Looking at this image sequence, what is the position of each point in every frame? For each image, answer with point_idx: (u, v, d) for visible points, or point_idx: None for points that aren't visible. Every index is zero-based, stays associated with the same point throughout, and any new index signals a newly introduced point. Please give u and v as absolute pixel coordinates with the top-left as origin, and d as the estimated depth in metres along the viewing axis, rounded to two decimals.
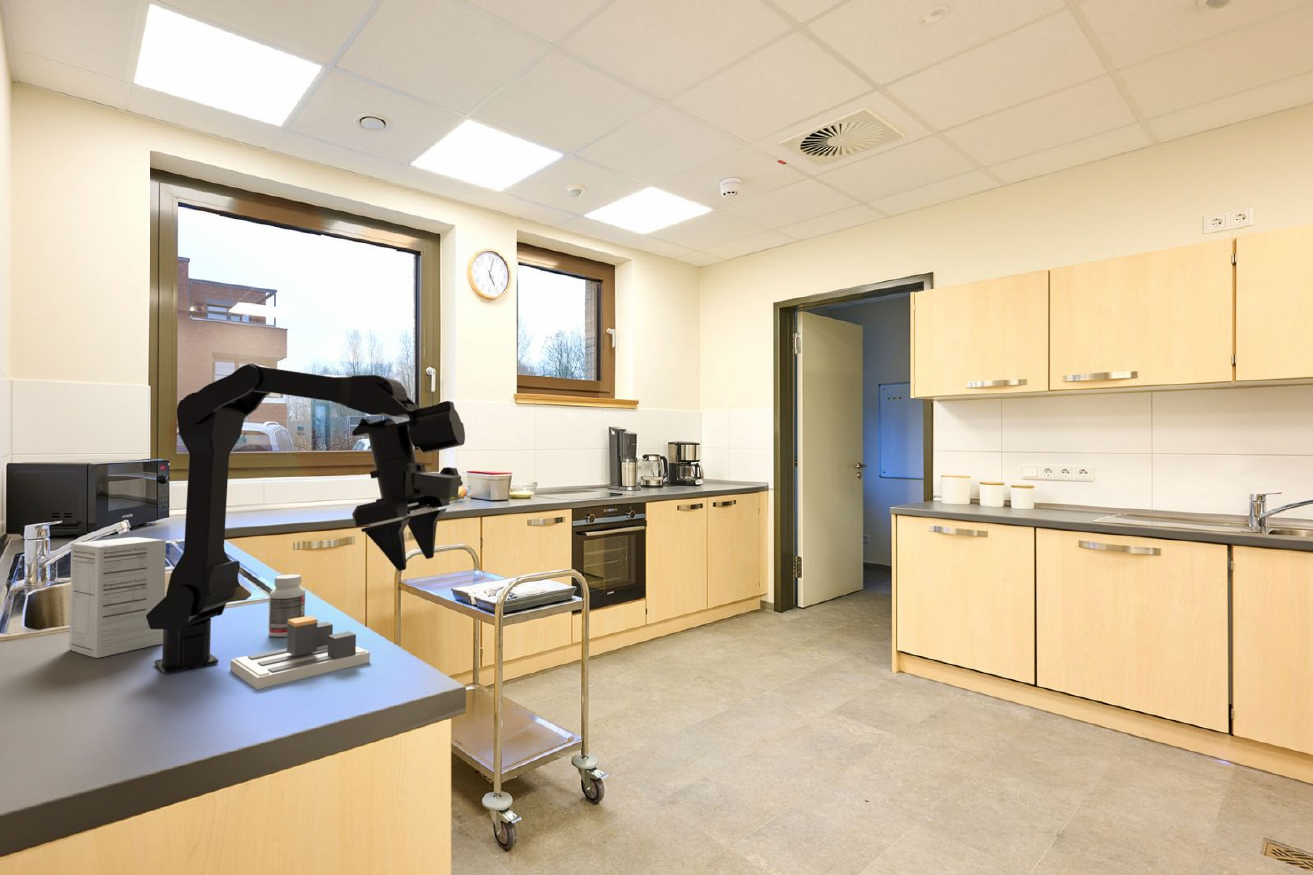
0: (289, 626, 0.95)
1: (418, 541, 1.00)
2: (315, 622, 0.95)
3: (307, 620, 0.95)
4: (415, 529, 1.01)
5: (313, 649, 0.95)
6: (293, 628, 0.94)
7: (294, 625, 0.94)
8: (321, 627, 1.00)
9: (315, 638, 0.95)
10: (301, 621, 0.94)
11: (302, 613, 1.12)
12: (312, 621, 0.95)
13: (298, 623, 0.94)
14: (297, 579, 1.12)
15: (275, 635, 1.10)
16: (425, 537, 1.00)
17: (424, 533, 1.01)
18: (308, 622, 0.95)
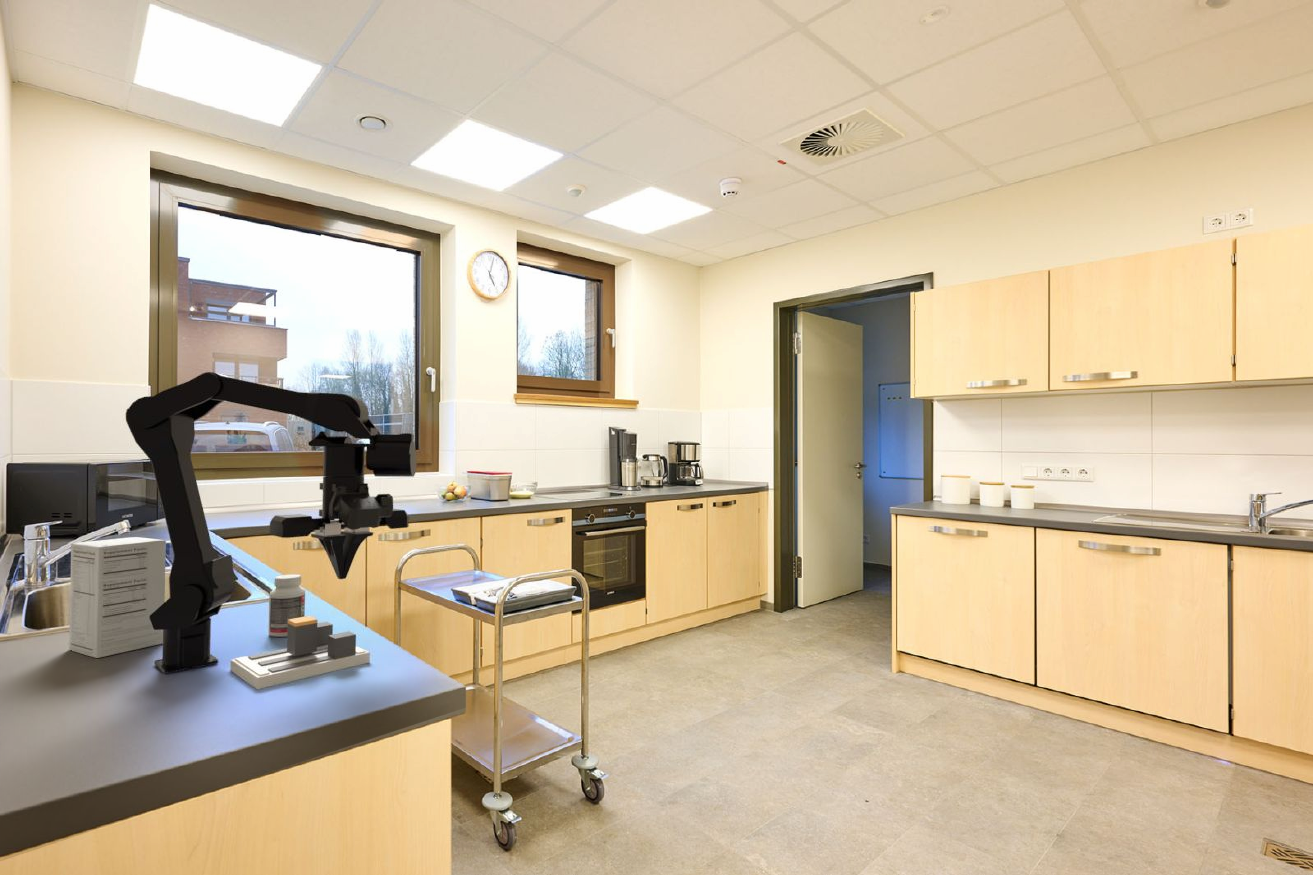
0: (289, 626, 0.95)
1: None
2: (315, 622, 0.95)
3: (307, 620, 0.95)
4: None
5: (313, 649, 0.95)
6: (293, 628, 0.94)
7: (294, 625, 0.94)
8: (321, 627, 1.00)
9: (315, 638, 0.95)
10: (301, 621, 0.94)
11: (302, 613, 1.12)
12: (312, 621, 0.95)
13: (298, 623, 0.94)
14: (297, 579, 1.12)
15: (275, 635, 1.10)
16: (343, 556, 1.00)
17: (344, 552, 1.00)
18: (308, 622, 0.95)
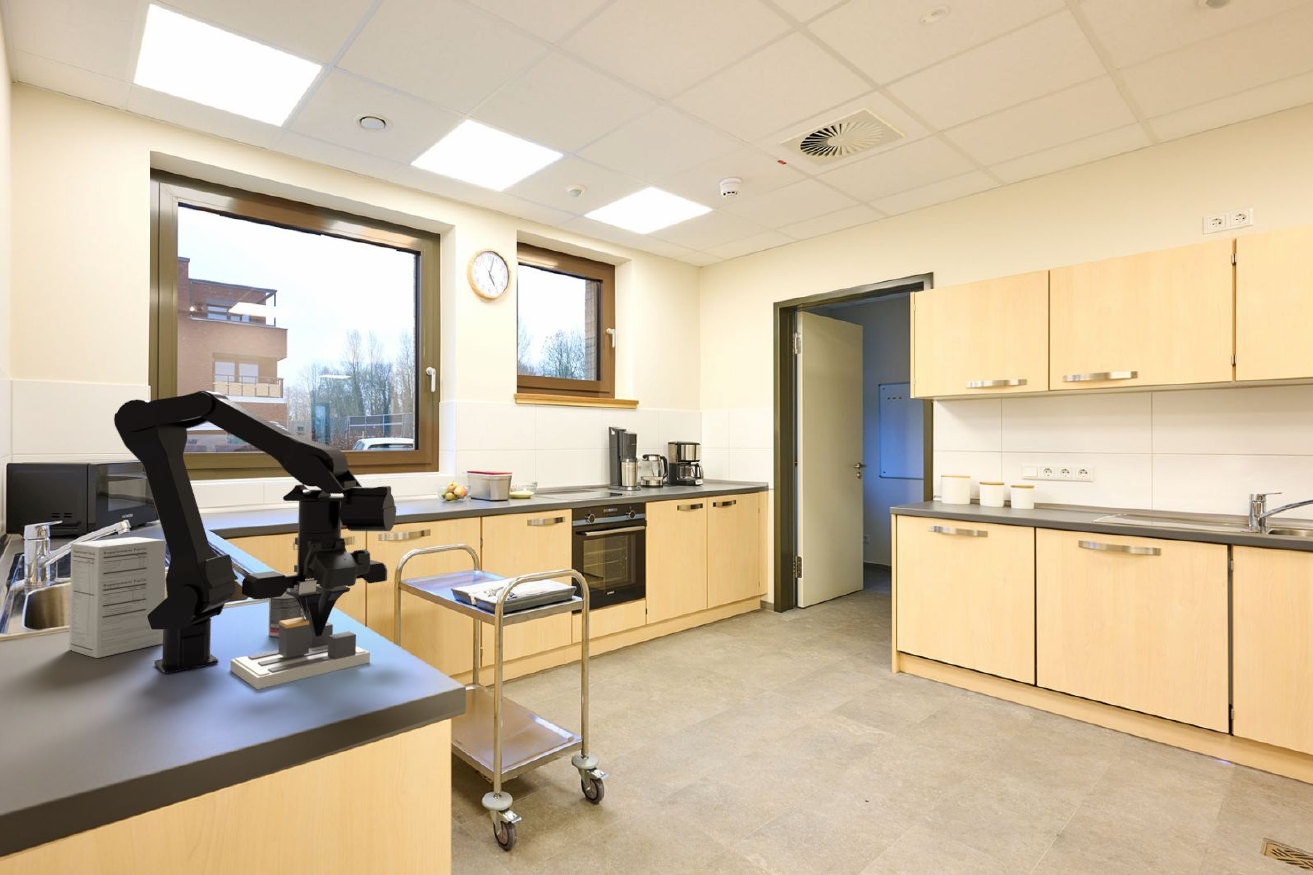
0: (280, 628, 0.94)
1: None
2: (307, 623, 0.94)
3: (299, 621, 0.94)
4: None
5: (305, 651, 0.94)
6: (285, 629, 0.93)
7: (285, 627, 0.93)
8: None
9: (307, 640, 0.94)
10: (293, 622, 0.93)
11: (302, 613, 1.12)
12: (304, 622, 0.94)
13: (289, 625, 0.93)
14: None
15: (275, 635, 1.10)
16: (319, 613, 0.97)
17: (319, 609, 0.97)
18: (300, 623, 0.94)
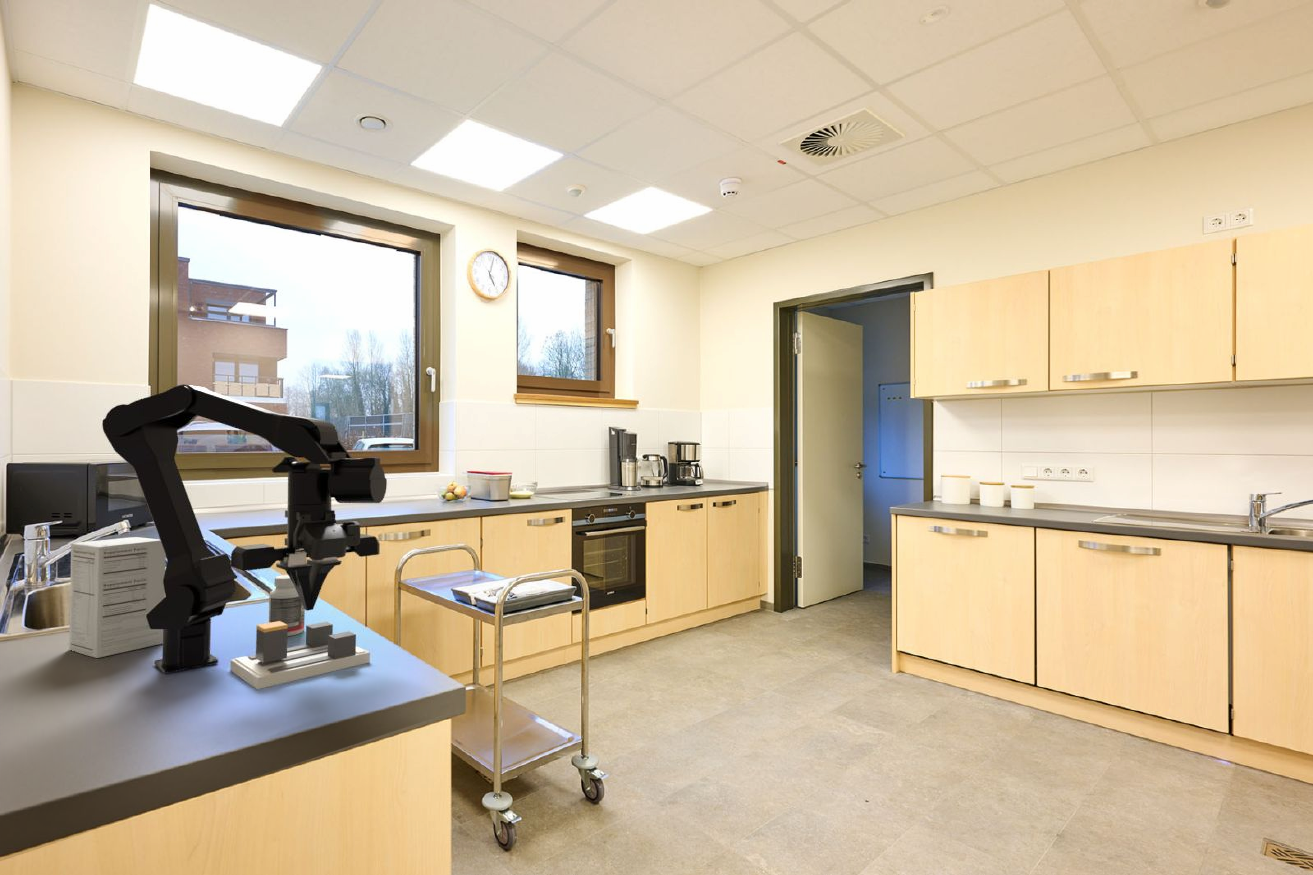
0: (258, 632, 0.92)
1: None
2: (285, 627, 0.92)
3: (277, 625, 0.92)
4: (309, 575, 0.97)
5: (283, 655, 0.92)
6: (262, 634, 0.91)
7: (263, 631, 0.90)
8: (321, 627, 1.00)
9: (285, 644, 0.92)
10: (270, 626, 0.91)
11: (302, 613, 1.12)
12: (282, 626, 0.92)
13: (267, 629, 0.91)
14: None
15: None
16: (310, 587, 0.96)
17: (311, 582, 0.96)
18: (277, 627, 0.92)
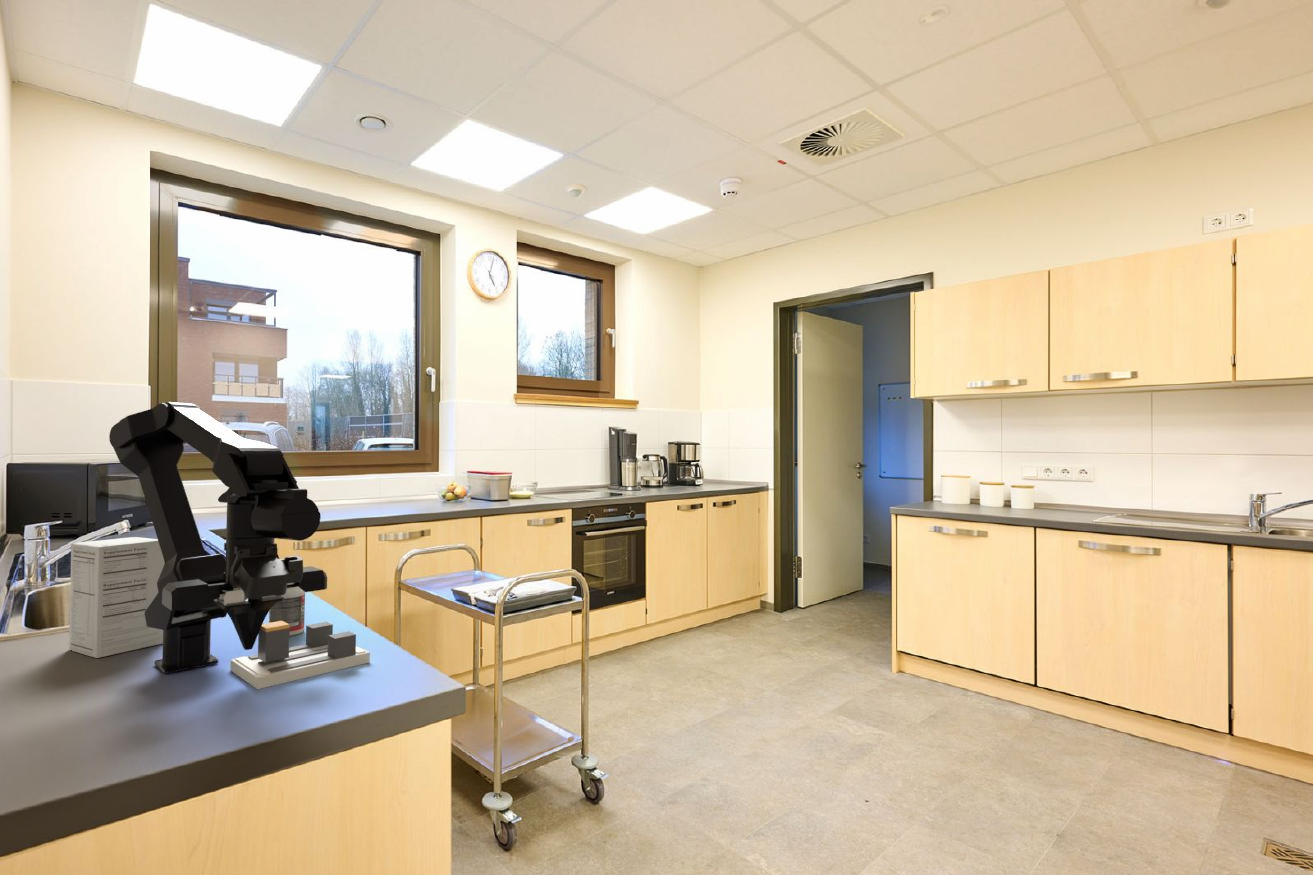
0: (260, 631, 0.92)
1: None
2: (287, 627, 0.92)
3: (279, 625, 0.92)
4: (250, 612, 0.92)
5: (285, 655, 0.92)
6: (264, 633, 0.91)
7: (265, 630, 0.91)
8: (321, 627, 1.00)
9: (287, 644, 0.92)
10: (272, 626, 0.91)
11: (302, 613, 1.12)
12: (284, 626, 0.92)
13: (269, 628, 0.91)
14: None
15: None
16: (250, 624, 0.90)
17: (250, 620, 0.90)
18: (279, 627, 0.92)
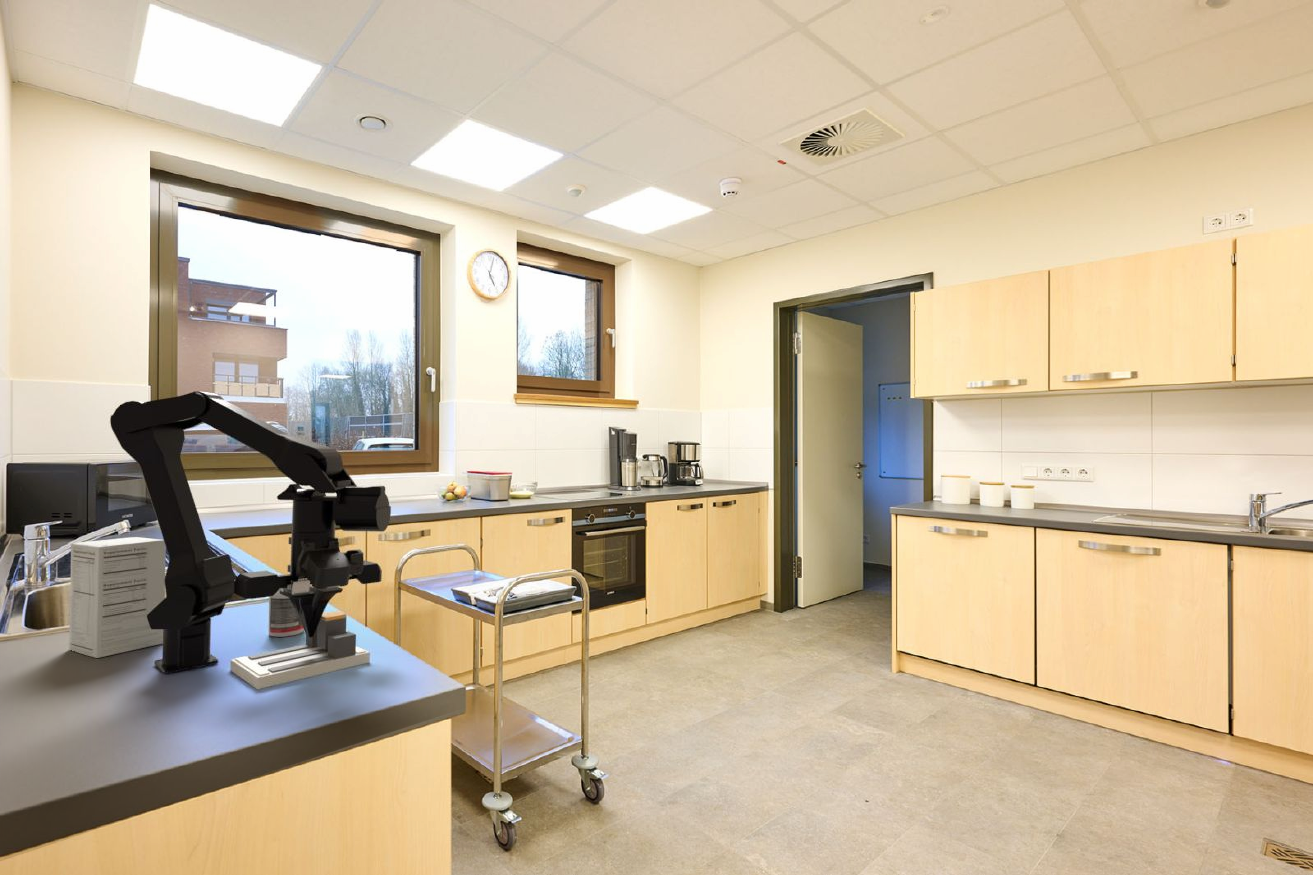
0: None
1: None
2: (344, 617, 0.98)
3: (336, 615, 0.98)
4: None
5: None
6: (323, 622, 0.97)
7: (324, 620, 0.97)
8: None
9: None
10: (331, 616, 0.97)
11: None
12: (341, 616, 0.98)
13: (328, 618, 0.97)
14: None
15: (275, 635, 1.10)
16: None
17: (312, 609, 0.96)
18: (337, 617, 0.98)
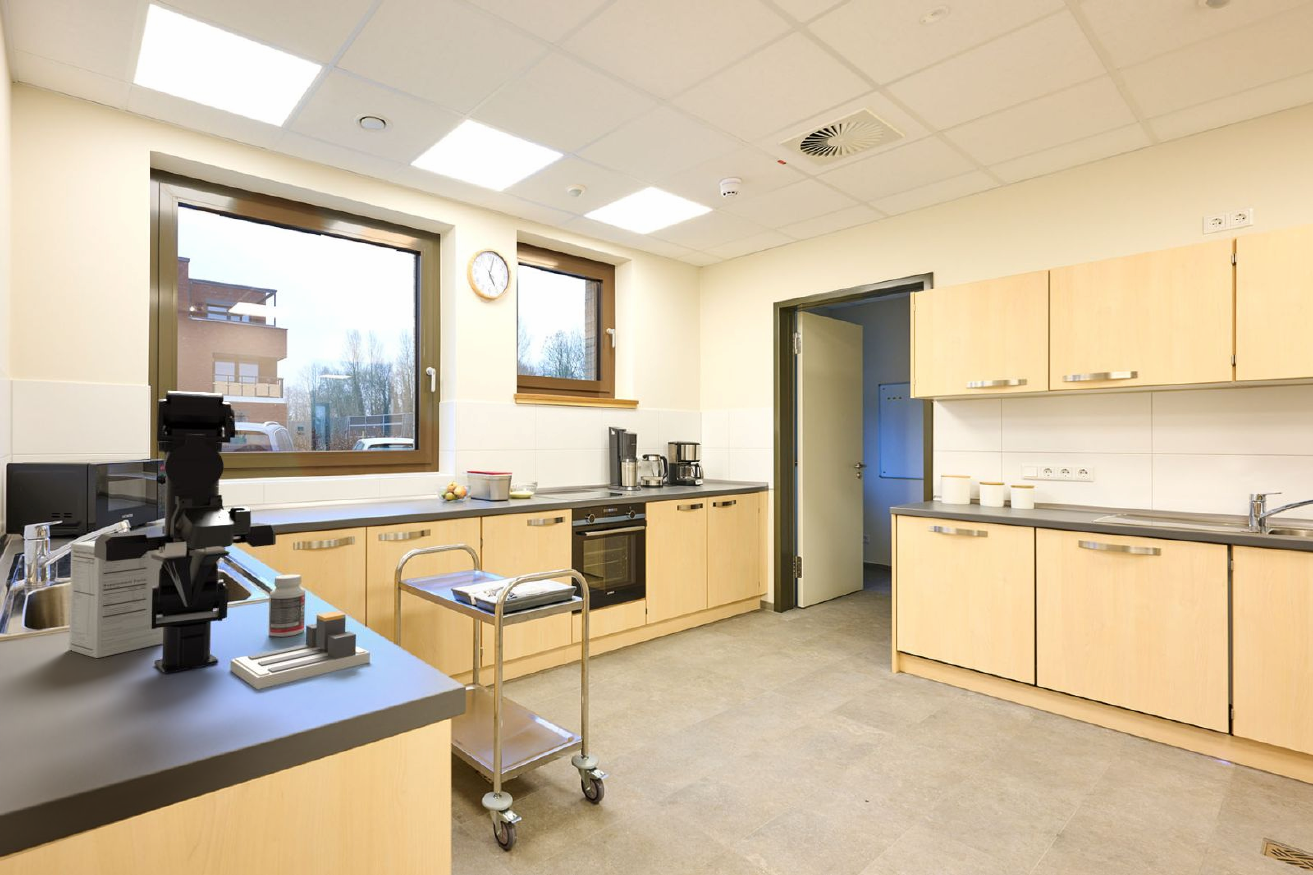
0: (318, 621, 0.98)
1: None
2: (343, 617, 0.98)
3: (336, 615, 0.98)
4: (191, 568, 0.87)
5: None
6: (323, 623, 0.97)
7: (323, 620, 0.97)
8: None
9: None
10: (330, 616, 0.97)
11: (302, 613, 1.12)
12: (340, 616, 0.98)
13: (327, 618, 0.97)
14: (297, 579, 1.12)
15: (275, 635, 1.10)
16: (192, 580, 0.86)
17: (193, 575, 0.86)
18: (337, 617, 0.98)
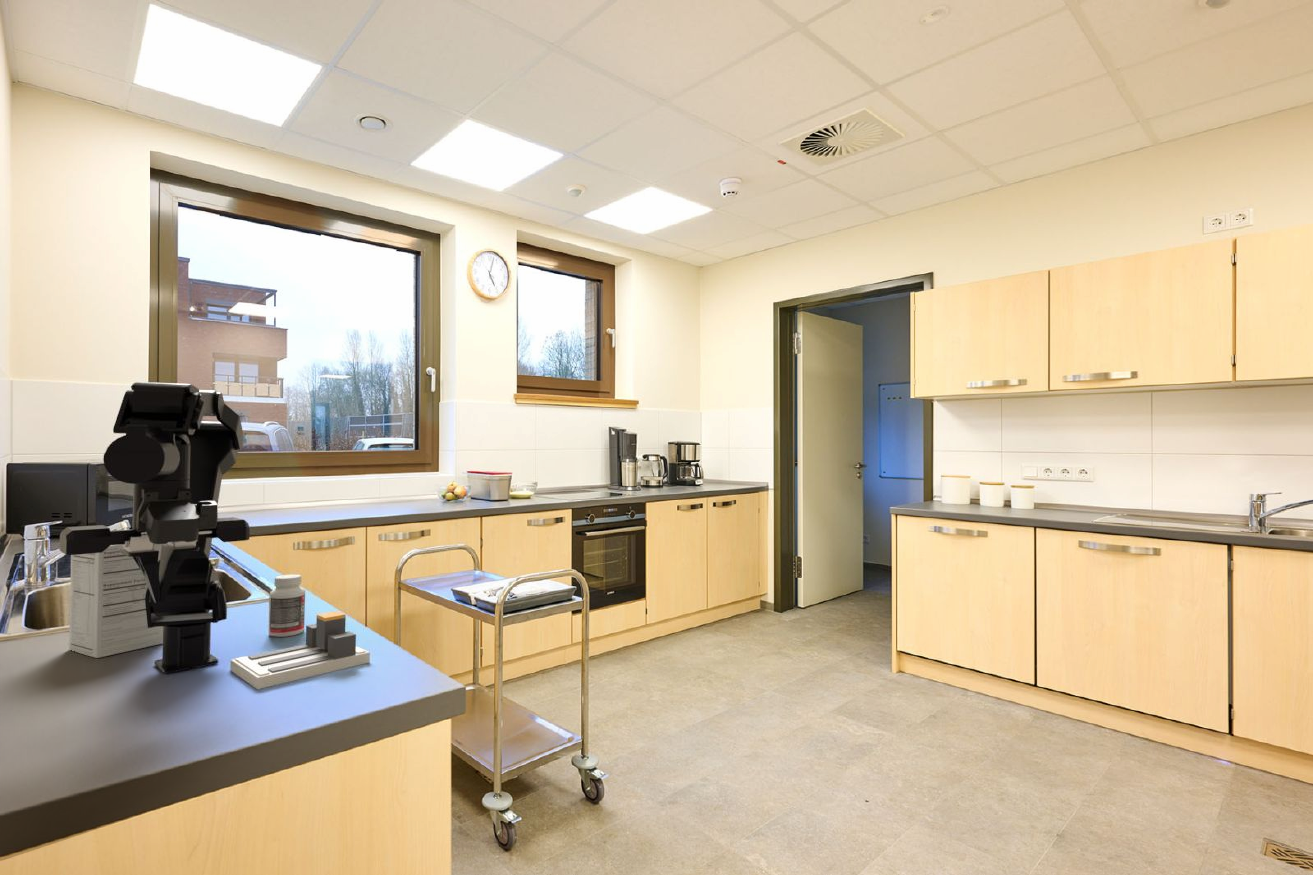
0: (318, 621, 0.98)
1: (158, 577, 0.84)
2: (343, 617, 0.98)
3: (336, 615, 0.98)
4: (162, 562, 0.85)
5: None
6: (323, 623, 0.97)
7: (323, 620, 0.97)
8: None
9: None
10: (330, 616, 0.97)
11: (302, 613, 1.12)
12: (340, 616, 0.98)
13: (327, 618, 0.97)
14: (297, 579, 1.12)
15: (275, 635, 1.10)
16: (161, 576, 0.84)
17: (162, 571, 0.84)
18: (337, 617, 0.98)
